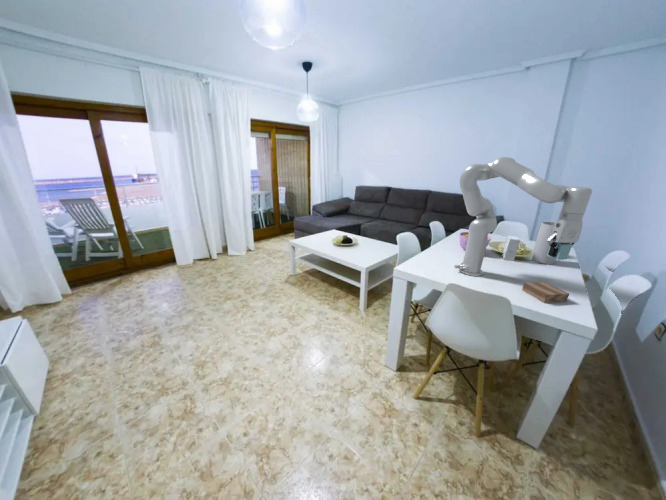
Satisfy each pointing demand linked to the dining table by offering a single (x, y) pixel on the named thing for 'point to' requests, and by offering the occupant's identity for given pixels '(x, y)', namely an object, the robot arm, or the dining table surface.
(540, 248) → the cylinder vase
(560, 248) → the teal block
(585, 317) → the dining table surface
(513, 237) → the skincare box
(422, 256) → the dining table surface
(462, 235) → the bowl of food
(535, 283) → the walnut plinth
